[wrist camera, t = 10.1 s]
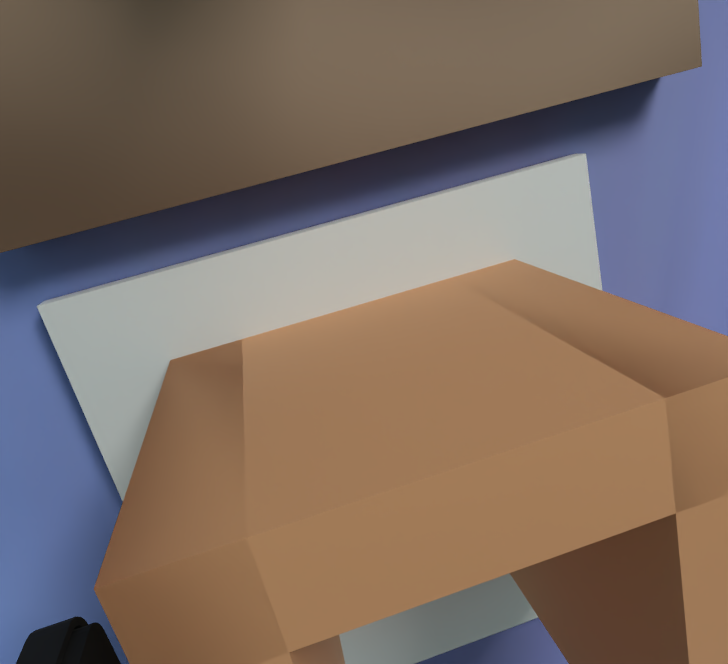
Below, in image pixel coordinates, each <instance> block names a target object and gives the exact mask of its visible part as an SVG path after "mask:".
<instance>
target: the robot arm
mask: <svg viewBox="0 0 728 664" xmlns="http://www.w3.org/2000/svg"><path fill="white" fill-rule="evenodd" d="M16 664H121V663H120V661H119V659H118V657H117V655H116V653H115V651H114V649H113V647H112V645H111V643H110V641H109V639H108V637H107V635H106V633H105V631H104V629H103V628H102V626H101V625H100V624H99V623H92V624H89V625H88V624H87V622H86V621H85V620H84V619H83V618H82V617H74V618H71V619H68V620H65V621H62V622H59V623H56V624H53V625H50V626H47V627H44V628H41V629H38V630H35V631H34V632H32V633H31V634H30V635H29V636H28V638H27V640H26V642H25V644H24V646H23V649H22V651H21V653H20V656H19V658H18V660H17V663H16Z"/></svg>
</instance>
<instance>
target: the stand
mask: <svg viewBox="0 0 728 664" xmlns="http://www.w3.org/2000/svg"><path fill="white" fill-rule="evenodd" d="M701 66H702V60H701V43H700V26H699V9H698V0H0V253H2V252H5V251H9V250H13V249H17V248H20V247H24V246H28V245H32V244H35V243H39V242H43V241H47V240H50V239H54V238H58V237H62V236H65V235H69V234H73V233H77V232H80V231H84V230H88V229H92V228H96V227H99V226H103V225H107V224H111V223H114V222H118V221H122V220H126V219H129V218H133V217H137V216H141V215H144V214H148V213H152V212H156V211H159V210H163V209H167V208H171V207H175V206H178V205H182V204H186V203H190V202H193V201H197V200H201V199H205V198H208V197H212V196H216V195H220V194H223V193H227V192H231V191H235V190H238V189H242V188H246V187H250V186H253V185H257V184H261V183H265V182H269V181H272V180H276V179H280V178H284V177H287V176H291V175H295V174H299V173H302V172H306V171H310V170H314V169H317V168H321V167H325V166H329V165H332V164H336V163H340V162H344V161H348V160H351V159H355V158H359V157H363V156H366V155H370V154H374V153H378V152H381V151H385V150H389V149H393V148H396V147H400V146H404V145H408V144H411V143H415V142H419V141H423V140H426V139H430V138H434V137H438V136H442V135H445V134H449V133H453V132H457V131H460V130H464V129H468V128H472V127H475V126H479V125H483V124H487V123H490V122H494V121H498V120H502V119H505V118H509V117H513V116H517V115H520V114H524V113H528V112H532V111H536V110H539V109H543V108H547V107H551V106H554V105H558V104H562V103H566V102H569V101H573V100H577V99H581V98H584V97H588V96H592V95H596V94H599V93H603V92H607V91H611V90H615V89H618V88H622V87H626V86H630V85H633V84H637V83H641V82H645V81H648V80H652V79H656V78H660V77H663V76H667V75H671V74H675V73H678V72H682V71H686V70H690V69H693V68H697V67H701Z"/></svg>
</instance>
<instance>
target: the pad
mask: <svg viewBox="0 0 728 664" xmlns="http://www.w3.org/2000/svg"><path fill="white" fill-rule="evenodd" d="M513 259H516V260H519V261H521V262H524V263H527V264H530V265H532V266H535V267H538V268H541V269H543V270H546V271H549V272H552V273H555V274H557V275H560V276H563V277H566V278H568V279H571V280H574V281H577V282H579V283H582V284H585V285H588V286H590V287H593V288H596V289H599V290H601V291H602V284H601V275H600V267H599V259H598V251H597V242H596V234H595V226H594V218H593V209H592V201H591V193H590V184H589V176H588V168H587V160H586V154H572V155H568V156H565V157H561V158H558V159H554V160H550V161H547V162H543V163H540V164H536V165H532V166H529V167H525V168H522V169H518V170H514V171H511V172H507V173H504V174H500V175H496V176H493V177H489V178H486V179H482V180H478V181H475V182H471V183H467V184H464V185H460V186H457V187H453V188H449V189H446V190H442V191H439V192H435V193H431V194H428V195H424V196H421V197H417V198H413V199H410V200H406V201H403V202H399V203H395V204H392V205H388V206H385V207H381V208H377V209H374V210H370V211H367V212H363V213H359V214H356V215H352V216H349V217H345V218H341V219H338V220H334V221H331V222H327V223H323V224H320V225H316V226H312V227H309V228H305V229H302V230H298V231H294V232H291V233H287V234H284V235H280V236H276V237H273V238H269V239H266V240H262V241H258V242H255V243H251V244H248V245H244V246H240V247H237V248H233V249H230V250H226V251H222V252H219V253H215V254H212V255H208V256H204V257H201V258H197V259H194V260H190V261H186V262H183V263H179V264H175V265H172V266H168V267H165V268H161V269H157V270H154V271H150V272H147V273H143V274H139V275H136V276H132V277H129V278H125V279H121V280H118V281H114V282H111V283H107V284H103V285H100V286H96V287H93V288H89V289H85V290H82V291H78V292H75V293H71V294H67V295H64V296H60V297H57V298H53V299H49V300H46V301H43V302H42V303H41V304H39V305H38V306H37V308H38V310H39V312H40V315H41V317H42V319H43V322H44V324H45V326H46V328H47V331H48V333H49V335H50V337H51V340H52V342H53V344H54V347H55V349H56V351H57V353H58V356H59V358H60V360H61V362H62V365H63V367H64V369H65V372H66V374H67V376H68V378H69V381H70V383H71V385H72V387H73V390H74V392H75V394H76V397H77V399H78V401H79V403H80V406H81V408H82V410H83V413H84V415H85V417H86V419H87V422H88V424H89V426H90V428H91V431H92V433H93V435H94V438H95V440H96V442H97V444H98V447H99V449H100V451H101V453H102V456H103V458H104V460H105V463H106V465H107V467H108V469H109V472H110V474H111V476H112V478H113V481H114V483H115V485H116V488H117V490H118V492H119V494H120V497H121V499H122V501H123V500H124V497H125V494H126V491H127V488H128V485H129V482H130V479H131V476H132V473H133V470H134V467H135V464H136V461H137V458H138V455H139V452H140V449H141V446H142V443H143V440H144V437H145V434H146V431H147V428H148V425H149V422H150V419H151V416H152V413H153V410H154V407H155V404H156V401H157V398H158V395H159V392H160V389H161V386H162V383H163V380H164V377H165V374H166V371H167V368H168V366H169V363H170V360H172V359H176V358H179V357H183V356H186V355H189V354H193V353H196V352H200V351H203V350H206V349H210V348H213V347H217V346H220V345H223V344H227V343H230V342H234V341H237V340H241V339H244V338H247V337H251V336H254V335H258V334H261V333H264V332H268V331H271V330H275V329H278V328H281V327H285V326H288V325H292V324H295V323H298V322H302V321H305V320H309V319H312V318H315V317H319V316H322V315H326V314H329V313H333V312H336V311H339V310H343V309H346V308H350V307H353V306H356V305H360V304H363V303H367V302H370V301H373V300H377V299H380V298H384V297H387V296H390V295H394V294H397V293H401V292H404V291H407V290H411V289H414V288H418V287H421V286H425V285H428V284H431V283H435V282H438V281H442V280H445V279H448V278H452V277H455V276H459V275H462V274H465V273H469V272H472V271H476V270H479V269H482V268H486V267H489V266H493V265H496V264H499V263H503V262H506V261H510V260H513ZM535 618H538V616H537V614H536V613H535V611H534V610H533V608H532V607H531V605H530V604H529V602H528V601H527V599H526V597H525V596H524V594H523V593H522V591H521V590H520V588H519V587H518V585H517V584H516V582H515V581H514V579H513V578H512V576H511V575H510V573H509V574H506V575H503V576H500V577H498V578H495V579H492V580H489V581H486V582H484V583H481V584H478V585H475V586H473V587H470V588H467V589H464V590H461V591H459V592H456V593H453V594H450V595H448V596H445V597H442V598H439V599H436V600H434V601H431V602H428V603H425V604H423V605H420V606H417V607H414V608H411V609H409V610H406V611H403V612H400V613H398V614H395V615H392V616H389V617H386V618H384V619H381V620H378V621H375V622H373V623H370V624H367V625H364V626H361V627H359V628H356V629H353V630H350V631H348V632H345V633H342V634H339V637H340V641H341V646H342V651H343V655H344V660H345V664H415V663H418V662H420V661H423V660H426V659H428V658H431V657H434V656H436V655H439V654H442V653H444V652H447V651H450V650H452V649H455V648H458V647H461V646H463V645H466V644H469V643H471V642H474V641H477V640H479V639H482V638H485V637H487V636H490V635H493V634H495V633H498V632H501V631H503V630H506V629H509V628H511V627H514V626H517V625H519V624H522V623H525V622H527V621H530V620H533V619H535Z"/></svg>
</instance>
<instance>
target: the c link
mask: <svg viewBox="0 0 728 664" xmlns="http://www.w3.org/2000/svg"><path fill="white" fill-rule="evenodd" d="M509 573H510V575H511V576H512V578H513V579H514V581H515V582H516V584H517V585H518V587H519V588H520V590H521V591H522V593H523V594H524V596H525V597H526V599H527V601H528V602H529V604H530V605H531V607H532V608H533V610H534V611H535V613H536V614H537V616H538V617H539V619H540V620H541V622H542V623H543V625H544V626H545V628H546V630H547V631H548V633H549V634H550V636H551V637H552V639H553V640H554V642H555V643H556V645H557V646H558V648H559V649H560V651H561V652H562V654H563V655H564V657H565V658H566V660H567V662H568V663H569V664H728V336H726V335H723V334H720V333H717V332H715V331H712V330H709V329H706V328H703V327H701V326H698V325H695V324H692V323H690V322H687V321H684V320H681V319H679V318H676V317H673V316H670V315H668V314H665V313H662V312H659V311H657V310H654V309H651V308H648V307H646V306H643V305H640V304H637V303H635V302H632V301H629V300H626V299H623V298H621V297H618V296H615V295H612V294H610V293H607V292H604V291H601V290H599V289H596V288H593V287H590V286H588V285H585V284H582V283H579V282H577V281H574V280H571V279H568V278H566V277H563V276H560V275H557V274H555V273H552V272H549V271H546V270H543V269H541V268H538V267H535V266H532V265H530V264H527V263H524V262H521V261H519V260H516V259H513V260H510V261H506V262H503V263H499V264H496V265H493V266H489V267H486V268H482V269H479V270H476V271H472V272H469V273H465V274H462V275H459V276H455V277H452V278H448V279H445V280H442V281H438V282H435V283H431V284H428V285H425V286H421V287H418V288H414V289H411V290H407V291H404V292H401V293H397V294H394V295H390V296H387V297H384V298H380V299H377V300H373V301H370V302H367V303H363V304H360V305H356V306H353V307H350V308H346V309H343V310H339V311H336V312H333V313H329V314H326V315H322V316H319V317H315V318H312V319H309V320H305V321H302V322H298V323H295V324H292V325H288V326H285V327H281V328H278V329H275V330H271V331H268V332H264V333H261V334H258V335H254V336H251V337H247V338H244V339H241V340H237V341H234V342H230V343H227V344H223V345H220V346H217V347H213V348H210V349H206V350H203V351H200V352H196V353H193V354H189V355H186V356H183V357H179V358H176V359H172V360H170V363H169V366H168V368H167V371H166V374H165V377H164V380H163V383H162V386H161V389H160V392H159V395H158V398H157V401H156V404H155V407H154V410H153V413H152V416H151V419H150V422H149V425H148V428H147V431H146V434H145V437H144V440H143V443H142V446H141V449H140V452H139V455H138V458H137V461H136V464H135V467H134V470H133V473H132V476H131V479H130V482H129V485H128V488H127V491H126V494H125V497H124V500H123V503H122V506H121V509H120V512H119V515H118V518H117V521H116V524H115V527H114V530H113V533H112V536H111V539H110V542H109V545H108V548H107V551H106V554H105V557H104V560H103V563H102V566H101V569H100V572H99V575H98V578H97V581H96V584H95V587H94V591H95V593H96V595H97V597H98V599H99V601H100V603H101V605H102V607H103V609H104V611H105V614H106V616H107V618H108V620H109V622H110V624H111V626H112V628H113V630H114V632H115V634H116V636H117V638H118V641H119V643H120V645H121V647H122V649H123V651H124V653H125V655H126V657H127V659H128V661H129V663H130V664H345V660H344V655H343V651H342V646H341V641H340V637H339V634H342V633H345V632H348V631H350V630H353V629H356V628H359V627H361V626H364V625H367V624H370V623H373V622H375V621H378V620H381V619H384V618H386V617H389V616H392V615H395V614H398V613H400V612H403V611H406V610H409V609H411V608H414V607H417V606H420V605H423V604H425V603H428V602H431V601H434V600H436V599H439V598H442V597H445V596H448V595H450V594H453V593H456V592H459V591H461V590H464V589H467V588H470V587H473V586H475V585H478V584H481V583H484V582H486V581H489V580H492V579H495V578H498V577H500V576H503V575H506V574H509Z"/></svg>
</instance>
